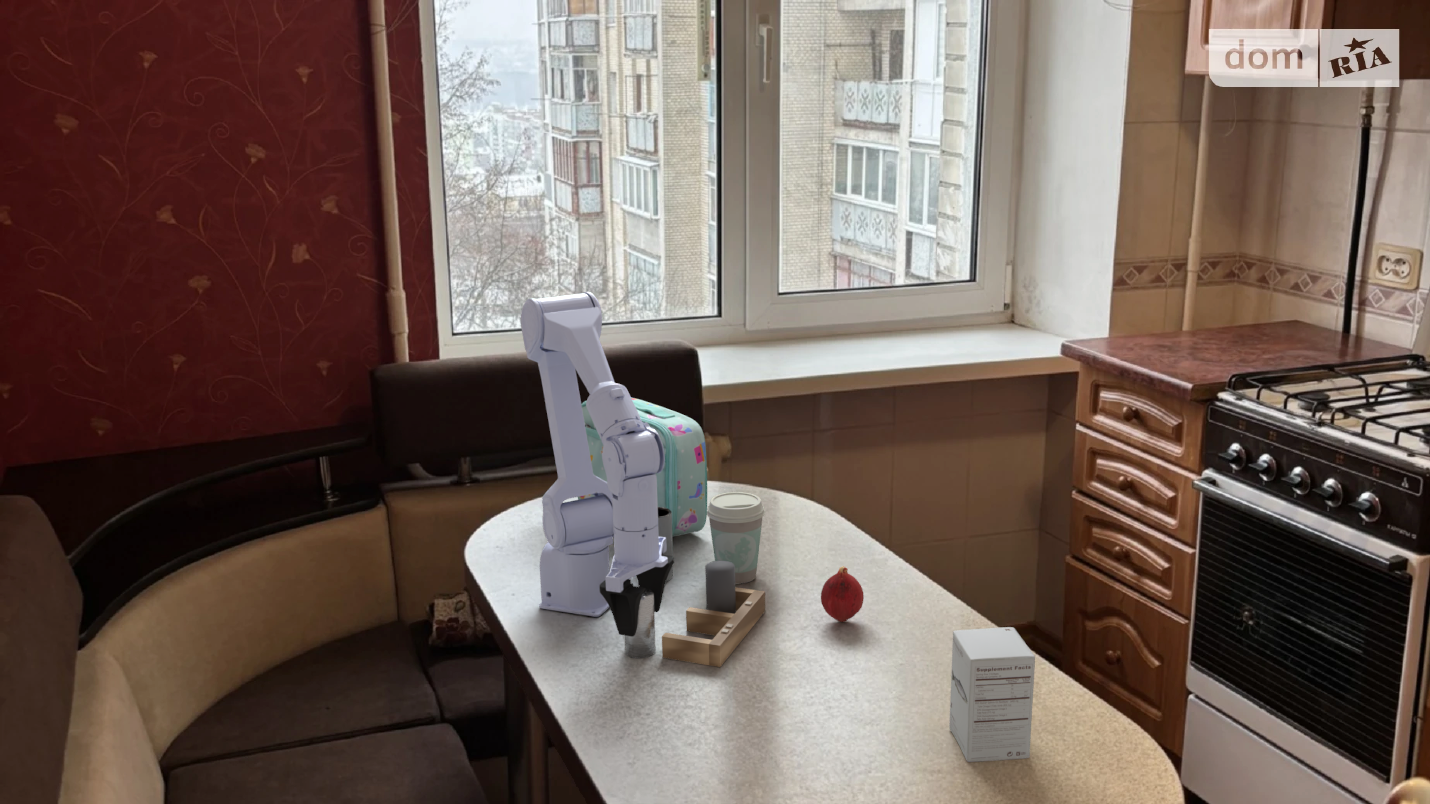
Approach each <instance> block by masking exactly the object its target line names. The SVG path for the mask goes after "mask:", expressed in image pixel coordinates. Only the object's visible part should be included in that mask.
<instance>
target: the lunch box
mask: <svg viewBox="0 0 1430 804" xmlns="http://www.w3.org/2000/svg"><path fill="white" fill-rule="evenodd" d="M631 399H632V401H633V403H634V405H635V407H636V409H637V411H638V414H639V416H640V418H641V420H642V422H644V423H648V424H649V426H650V427H651V428H653V429H654V430H656V431H657V433H658V434H659V436H660V439H661V441H662V444H663V448H664V454H665V463H664V468H663V470H662V471H661V472H660V473H656V474H655V475H656V476H657V503H658V507H664V508H668V509H670V510H671V512H672V538H674V537H677V536H682V535H688V534H691V533H696V532H700V531H701V530H703V529H704V527H705V525H706V523H707V517H708V516H707V511H708V510H707V508H708V467H707V449H706V448H707V447H706V446H707V445H706V439H705V438H706V437H705V435H704V432H703V429H702V427H701V426H700V424H699V423H698V422H697V421H696V420H694V419H693V418H691V417H689V416H688V415H684V414H682V413H680V412H677V411H675V410H671V409H669V408H666V407H664V406H661V405H658V404H655V403H652V402H648V401H646V400H643V399H639V398H635V397H631ZM586 402H587V400H584V401H583V402H581V405H582V411H583V417H584V423H585V429H586V435H587V440H588V446H589V452H590V458H591V464H592V470H593V474H594V475H595V476H597V477H599V478H600V479H602V480H604V481H606V482H607V475H606V472H605V469H604V465H603V461H602V453H603V446H604V445H603V443H602V441H601V439H600V436H599V434H598V432H597V430H596V427H595V425H594V423H593V421H592V418H591V416H590V414H589V412H588V410H587V407H586ZM589 497H594V495H592V494H589V495H584V496H579V497H577V500H579V499H584V498H589Z"/></svg>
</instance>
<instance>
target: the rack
mask: <svg viewBox="0 0 1430 804" xmlns="http://www.w3.org/2000/svg"><path fill="white" fill-rule="evenodd" d="M735 598H736V613H735V614H732V613H725V612H719V611H712V610H707V609H704V608H696V607H691V606H690V607H688V608H687V609H686V611H685V619H686V620H685V621H686V626H685V627H686V632H689V633H690V632H691V633H698V634H703V635H708V636H709V635H710V636H714V637H713V638H712V639H708V638H703V637H695V636H690V635H685V634H678V633H670V632H665V633H663V634H662V635H661V652H662V653H661V654H662V659H668V660H675V661H681V662H686V663H693V664H699V665H704V666H709V667H710V666H711V667H718V668H721V667H722V666H723V664H724V663H725V662H726V660H727V659H728V658H729V657H730V656H731V654H732V653H733V652H734V650H735V649H736V648H737V647H738V646H739V645H740V643H741V642H742V641H743V640H744V638H745V637H746V636H747V634H748V633H749V632H750V631H751V629H752V628H753V627H754V626H755V624H756V623H757V622H758V621H759V620H760V618H761V617H762V616H763V615H764V614H765V612H766V591H765V590H757V589H751V588H750V589H749V588H744V587H743V588H742V587H738V586H737V587H736V586H735ZM762 614H763V615H762Z"/></svg>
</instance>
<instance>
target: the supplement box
mask: <svg viewBox="0 0 1430 804" xmlns="http://www.w3.org/2000/svg"><path fill="white" fill-rule="evenodd" d="M951 649H952V650H951V652H952V655H951V675H950V696H949V697H950V699H949V701H950V703H949V722H948V723H949V726H948V727H949V730H950V732H951V733H952V735H953V737H954V739H955V740H956V742H957V743H958V746H959V748H960V750H961V751H962V754H963V756H964V759H965V760H966V761H967V763H973V762H975V763H977V762H990V761H991V762H992V761H1006V760H1021V759H1028V758H1030V756H1031V755H1030V754H1031V737H1032V736H1031V733H1032V719H1033V700H1034V689H1035V688H1034V686H1035V685H1034V684H1035V665H1036V657H1035V656H1036V655H1035V654H1034V653H1033V652H1032V650H1031V649H1030V647H1029V646H1028V645H1027V644H1026V642H1025V640H1024V639H1023V638H1022V637H1021V635H1020V634H1019V632H1018V631H1017V629H1016V628H1015V627H1011V626H1007V627H1006V626H1005V627H1003V626H1002V627H989V628H988V627H986V628H973V629H958V630H957V629H956V630H953V631H952V648H951Z"/></svg>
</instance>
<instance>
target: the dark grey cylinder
mask: <svg viewBox="0 0 1430 804" xmlns="http://www.w3.org/2000/svg"><path fill="white" fill-rule="evenodd" d="M704 567H705V568H704V569H705V571H704V572H705V597H706V598H705V599H706V601H705V603H706V605H705V606H706V610H712V611H719V612H725V613H732V614H735V613H736V612H737V611H736V598H735V587H736V584H735V565H734V564H733V563H731V562H728V561H715V560H713V561H711V562H707V564H706V565H705V566H704Z"/></svg>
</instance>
